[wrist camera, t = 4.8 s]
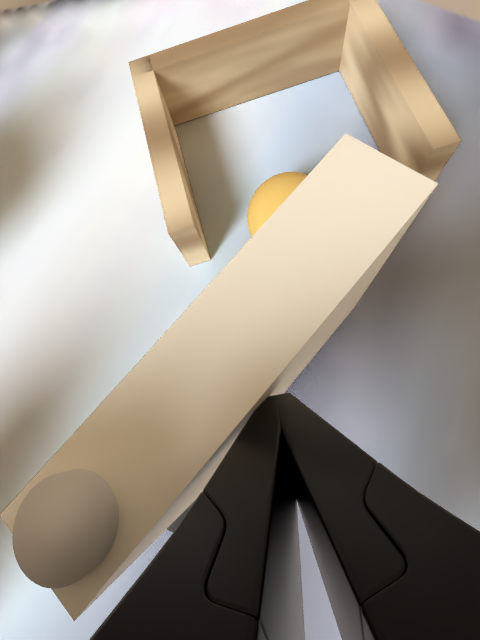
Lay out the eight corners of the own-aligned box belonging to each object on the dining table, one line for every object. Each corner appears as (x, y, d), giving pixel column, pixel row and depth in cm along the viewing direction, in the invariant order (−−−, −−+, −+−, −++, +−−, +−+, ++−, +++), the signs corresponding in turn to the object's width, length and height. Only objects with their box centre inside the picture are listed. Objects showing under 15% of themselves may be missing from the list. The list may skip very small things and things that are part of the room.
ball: (323, 140, 14) (316, 189, 18) (232, 168, 14) (245, 209, 18) (349, 228, 13) (335, 258, 17) (253, 254, 14) (261, 277, 18)
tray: (426, 193, 17) (461, 140, 14) (189, 266, 18) (168, 232, 14) (351, 51, 20) (364, -19, 17) (153, 117, 21) (128, 62, 18)
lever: (353, 308, 16) (447, 170, 7) (200, 495, 14) (59, 636, 5) (313, 280, 16) (348, 118, 7) (163, 455, 15) (-19, 521, 6)
